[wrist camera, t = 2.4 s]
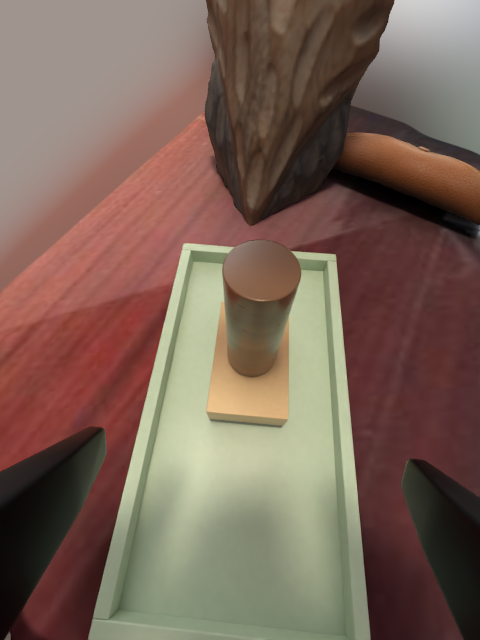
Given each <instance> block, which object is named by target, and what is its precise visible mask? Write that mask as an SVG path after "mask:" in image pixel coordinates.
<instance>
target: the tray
mask: <svg viewBox="0 0 480 640" xmlns="http://www.w3.org/2000/svg"><path fill="white" fill-rule="evenodd" d="M233 248H235V247H227V246H214V245H200V244H187V243H184V244H183V248H182V252H181V256H180V261H179V265H178V269H177V273H176V277H175V281H174V285H173V289H172V293H171V298H170V302H169V306H168V310H167V314H166V318H165V322H164V326H163V331H162V335H161V339H160V343H159V347H158V351H157V355H156V359H155V363H154V368H153V372H152V376H151V380H150V384H149V388H148V392H147V396H146V400H145V405H144V409H143V413H142V417H141V421H140V425H139V429H138V433H137V438H136V442H135V446H134V450H133V454H132V458H131V462H130V466H129V470H128V475H127V479H126V483H125V487H124V491H123V495H122V499H121V503H120V508H119V512H118V516H117V520H116V524H115V528H114V532H113V536H112V540H111V545H110V549H109V553H108V557H107V561H106V565H105V569H104V573H103V578H102V582H101V586H100V590H99V594H98V598H97V602H96V606H95V610H94V615H93V620H92V624H91V628H90V632H89V636H88V640H371V637H370V626H369V615H368V604H367V593H366V582H365V571H364V560H363V549H362V538H361V527H360V516H359V505H358V494H357V483H356V472H355V461H354V451H353V440H352V429H351V418H350V407H349V396H348V385H347V374H346V363H345V352H344V341H343V330H342V319H341V308H340V297H339V286H338V275H337V264H336V255H334V254H321V253H307V252H294V251H291V252H292V253H293V254H294V255H295V256H296V258H297V259H298V261H299V264H300V267H301V279H300V283H299V286H298V289H297V292H296V295H295V299H294V302H293V305H292V308H291V311H290V315H289V411H288V420H287V422H286V423H285V424H284V425H283V426H282V427H281V428H279V427H268V426H257V425H247V424H236V423H226V422H215V421H210V419H209V417H208V415H207V412H206V409H207V401H208V394H209V387H210V380H211V373H212V366H213V359H214V352H215V345H216V338H217V331H218V323H219V316H220V309H221V302H224V290H223V275H222V267H223V262H224V260H225V258H226V256H227V255H228V253H229V252H230V251H231V250H232V249H233Z"/></svg>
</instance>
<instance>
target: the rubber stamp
mask: <svg viewBox="0 0 480 640" xmlns="http://www.w3.org/2000/svg"><path fill="white" fill-rule="evenodd" d="M222 275H223V290H224V302H221V309H220V316H219V323H218V331H217V338H216V345H215V352H214V359H213V366H212V373H211V380H210V387H209V394H208V401H207V409H206V412H207V415H208V417H209V419H210V421H215V422H226V423H236V424H247V425H257V426H268V427H279V428H281V427H282V426H283V425H284V424H285V423H286V422H287V420H288V411H289V315H290V311H291V308H292V305H293V302H294V299H295V295H296V292H297V289H298V286H299V283H300V279H301V267H300V264H299V261H298V259H297V258H296V256H295V255H294V254H293V253H292V252H291V251H290V250H289V249H288V248H286V247H285V246H283V245H281V244H279V243H276V242H273V241H269V240H252V241H247V242H244V243H242V244H240V245H238V246H236V247H235V248H233V249H232V250H231V251H230V252H229V253H228V255H227V256H226V258H225V260H224V262H223V267H222Z"/></svg>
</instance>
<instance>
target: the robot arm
mask: <svg viewBox="0 0 480 640" xmlns="http://www.w3.org/2000/svg"><path fill="white" fill-rule="evenodd" d="M106 451H107V449H106V433H105V429H104V428H102V427H94V426H91V427H88V428H86V429H84V430H82V431H80V432H78V433H76V434H74V435H72V436H70V437H68V438H66V439H64V440H62V441H60V442H58V443H56V444H54V445H52V446H50V447H48V448H46V449H44V450H43V451H41V452H39V453H37V454H35V455H33V456H31V457H29V458H27V459H25V460H23V461H21V462H19V463H17V464H15V465H13V466H11V467H9V468H7V469H5V470H3V471H1V472H0V640H5V638H6V636H7V635H8V633H9V631H10V630H11V628H12V626H13V624H14V623H15V621H16V619H17V618H18V616H19V614H20V613H21V611H22V609H23V607H24V606H25V604H26V602H27V601H28V599H29V597H30V596H31V594H32V592H33V590H34V589H35V587H36V585H37V584H38V582H39V580H40V579H41V577H42V575H43V573H44V572H45V570H46V568H47V567H48V565H49V563H50V562H51V560H52V558H53V556H54V555H55V553H56V551H57V550H58V548H59V546H60V545H61V543H62V541H63V539H64V538H65V536H66V534H67V533H68V531H69V529H70V528H71V526H72V524H73V522H74V521H75V519H76V517H77V515H78V514H79V512H80V510H81V508H82V506H83V504H84V502H85V500H86V498H87V496H88V494H89V491H90V489H91V487H92V485H93V483H94V481H95V479H96V476H97V474H98V472H99V470H100V468H101V466H102V464H103V461H104V459H105V456H106ZM401 486H402V491H403V494H404V497H405V500H406V503H407V505H408V508H409V511H410V514H411V517H412V520H413V523H414V526H415V528H416V531H417V534H418V537H419V540H420V542H421V545H422V548H423V550H424V552H425V555H426V557H427V559H428V562H429V564H430V566H431V568H432V570H433V573H434V575H435V577H436V579H437V582H438V584H439V586H440V588H441V590H442V593H443V595H444V597H445V599H446V602H447V604H448V606H449V608H450V610H451V613H452V615H453V617H454V619H455V622H456V624H457V626H458V628H459V630H460V633H461V635H462V637H463V639H464V640H480V498H479V497H478V496H476V495H475V494H473V493H472V492H471V491H469V490H468V489H466V488H465V487H463V486H462V485H460V484H459V483H457V482H456V481H454V480H453V479H451V478H450V477H448V476H447V475H446V474H444V473H443V472H441V471H440V470H438V469H437V468H435V467H434V466H432V465H431V464H429V463H428V462H426V461H425V460H420V459H409V460H408V461H407V463H406V467H405V470H404V474H403V477H402V482H401Z"/></svg>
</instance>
